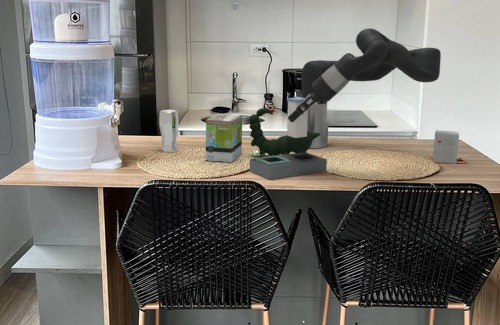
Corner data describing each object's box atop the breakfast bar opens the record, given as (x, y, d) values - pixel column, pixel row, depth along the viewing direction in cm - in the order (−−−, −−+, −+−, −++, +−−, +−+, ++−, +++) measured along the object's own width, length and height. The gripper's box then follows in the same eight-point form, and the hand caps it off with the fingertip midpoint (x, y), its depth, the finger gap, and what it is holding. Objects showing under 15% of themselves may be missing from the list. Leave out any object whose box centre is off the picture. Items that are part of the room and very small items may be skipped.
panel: (304, 163, 189) (304, 150, 188) (326, 171, 179) (326, 157, 178) (249, 171, 178) (249, 157, 177) (269, 179, 168) (270, 165, 167)
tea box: (233, 163, 189) (233, 120, 185) (204, 161, 190) (204, 119, 187) (242, 153, 203) (242, 113, 199) (216, 152, 205) (215, 112, 201)
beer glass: (156, 151, 204) (155, 111, 200) (166, 147, 210) (165, 109, 207) (173, 153, 201) (172, 112, 198) (182, 149, 208) (181, 110, 204)
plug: (298, 134, 179) (299, 97, 176) (307, 136, 176) (308, 99, 173) (286, 135, 177) (287, 98, 174) (295, 137, 173) (296, 99, 170)
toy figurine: (251, 164, 194) (322, 159, 193) (247, 111, 190) (320, 105, 188) (252, 158, 203) (320, 153, 202) (248, 107, 199) (318, 102, 197)
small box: (456, 160, 196) (459, 131, 194) (456, 164, 191) (459, 134, 189) (432, 158, 199) (435, 129, 196) (432, 162, 194) (435, 132, 191)
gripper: (335, 94, 162) (295, 131, 169) (342, 89, 176) (304, 123, 182) (318, 75, 163) (278, 113, 169) (326, 72, 176) (289, 106, 182)
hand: (292, 118), depth 175 cm, fingers closed on plug, 6 cm apart
